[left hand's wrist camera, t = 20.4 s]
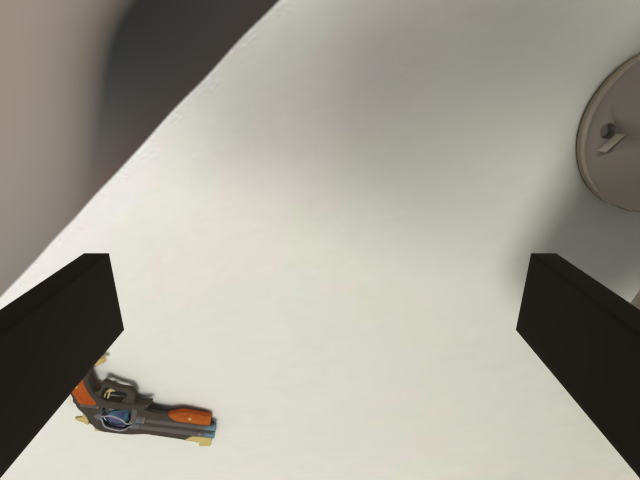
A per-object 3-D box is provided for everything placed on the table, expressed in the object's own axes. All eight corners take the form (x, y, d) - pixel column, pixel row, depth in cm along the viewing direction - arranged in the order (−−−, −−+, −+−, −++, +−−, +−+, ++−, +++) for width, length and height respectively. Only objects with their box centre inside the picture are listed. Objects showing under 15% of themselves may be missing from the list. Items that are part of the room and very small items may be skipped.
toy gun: (49, 356, 43) (42, 433, 45) (225, 382, 46) (210, 453, 48) (62, 344, 45) (55, 417, 48) (228, 369, 48) (214, 437, 51)
